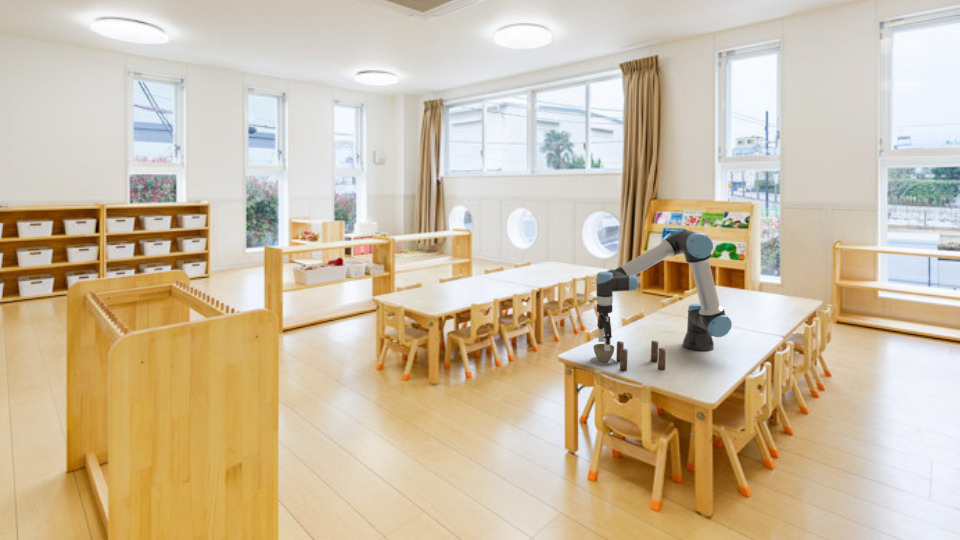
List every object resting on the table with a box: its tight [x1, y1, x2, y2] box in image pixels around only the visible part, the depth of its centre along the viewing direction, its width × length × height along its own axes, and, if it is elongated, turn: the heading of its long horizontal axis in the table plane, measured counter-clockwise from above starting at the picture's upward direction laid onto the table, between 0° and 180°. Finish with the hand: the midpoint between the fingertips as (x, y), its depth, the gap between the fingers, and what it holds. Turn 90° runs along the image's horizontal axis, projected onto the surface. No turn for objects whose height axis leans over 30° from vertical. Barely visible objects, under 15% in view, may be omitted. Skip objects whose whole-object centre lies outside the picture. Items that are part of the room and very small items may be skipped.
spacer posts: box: [615, 340, 667, 372], centre depth 250 cm, size 21×15×10 cm
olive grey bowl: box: [592, 343, 615, 362], centre depth 257 cm, size 10×10×7 cm
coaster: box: [590, 356, 617, 367], centre depth 258 cm, size 12×12×1 cm
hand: (604, 346), depth 256 cm, fingers open, 13 cm apart
